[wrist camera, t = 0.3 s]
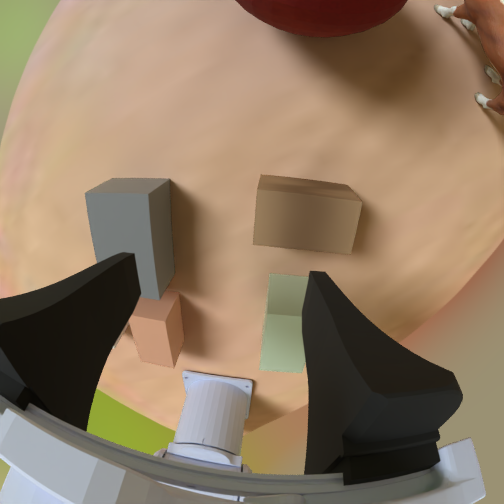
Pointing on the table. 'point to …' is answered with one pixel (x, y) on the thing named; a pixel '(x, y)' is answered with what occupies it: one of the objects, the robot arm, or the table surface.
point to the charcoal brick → (135, 227)
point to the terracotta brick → (158, 329)
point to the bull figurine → (485, 39)
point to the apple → (323, 15)
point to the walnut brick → (305, 214)
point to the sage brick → (283, 324)
